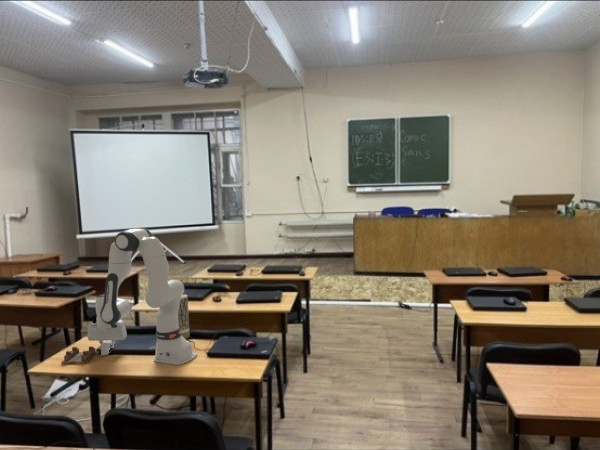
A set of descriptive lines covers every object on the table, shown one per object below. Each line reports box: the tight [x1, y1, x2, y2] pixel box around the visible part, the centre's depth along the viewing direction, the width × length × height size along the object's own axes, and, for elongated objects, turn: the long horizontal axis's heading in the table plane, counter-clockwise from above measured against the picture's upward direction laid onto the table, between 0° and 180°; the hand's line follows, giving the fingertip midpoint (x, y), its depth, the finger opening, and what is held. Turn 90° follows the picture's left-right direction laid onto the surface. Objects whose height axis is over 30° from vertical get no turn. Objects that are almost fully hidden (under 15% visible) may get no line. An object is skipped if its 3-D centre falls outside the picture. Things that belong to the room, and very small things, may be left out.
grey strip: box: [100, 340, 113, 356], centre depth 222 cm, size 12×3×4 cm, turn 6°
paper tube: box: [178, 294, 191, 340], centre depth 238 cm, size 7×7×25 cm
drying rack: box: [61, 346, 100, 365], centre depth 213 cm, size 13×12×5 cm
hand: (108, 347), depth 222 cm, fingers closed on grey strip, 3 cm apart
